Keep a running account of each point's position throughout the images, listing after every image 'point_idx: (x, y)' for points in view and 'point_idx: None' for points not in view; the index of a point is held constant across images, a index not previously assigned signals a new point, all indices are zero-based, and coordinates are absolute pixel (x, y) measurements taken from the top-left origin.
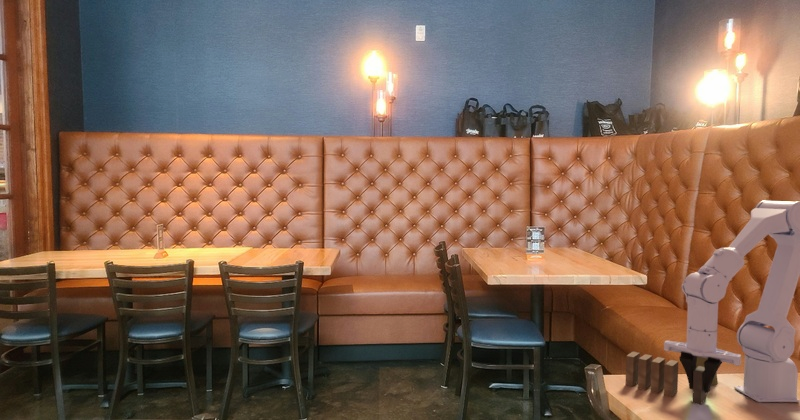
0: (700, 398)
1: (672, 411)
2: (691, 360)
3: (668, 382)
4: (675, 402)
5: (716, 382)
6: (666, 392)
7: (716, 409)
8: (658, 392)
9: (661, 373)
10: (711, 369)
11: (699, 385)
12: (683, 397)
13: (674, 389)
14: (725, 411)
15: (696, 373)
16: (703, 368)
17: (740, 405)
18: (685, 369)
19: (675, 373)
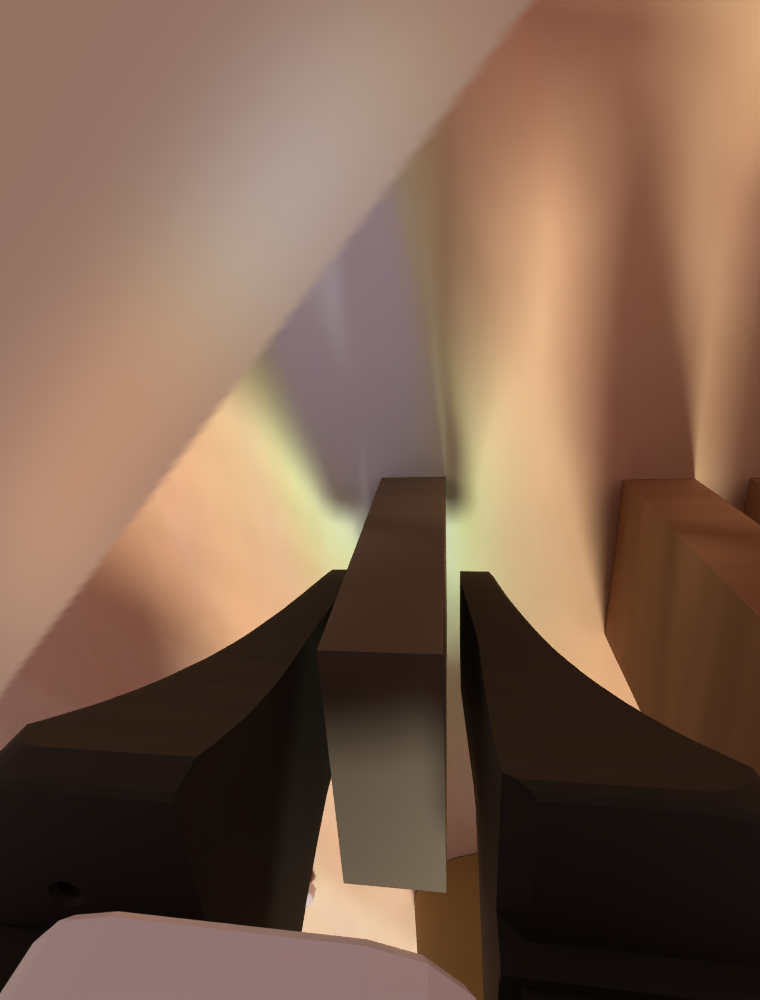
0: (378, 497)
1: (533, 83)
2: (502, 841)
3: (717, 532)
4: (563, 371)
5: (416, 910)
6: (682, 491)
7: (267, 471)
8: (751, 492)
9: None
10: (134, 711)
11: (373, 548)
12: (533, 541)
13: (628, 578)
14: (210, 479)
15: (398, 634)
16: (367, 836)
17: (193, 657)
18: (577, 679)
19: (693, 700)
